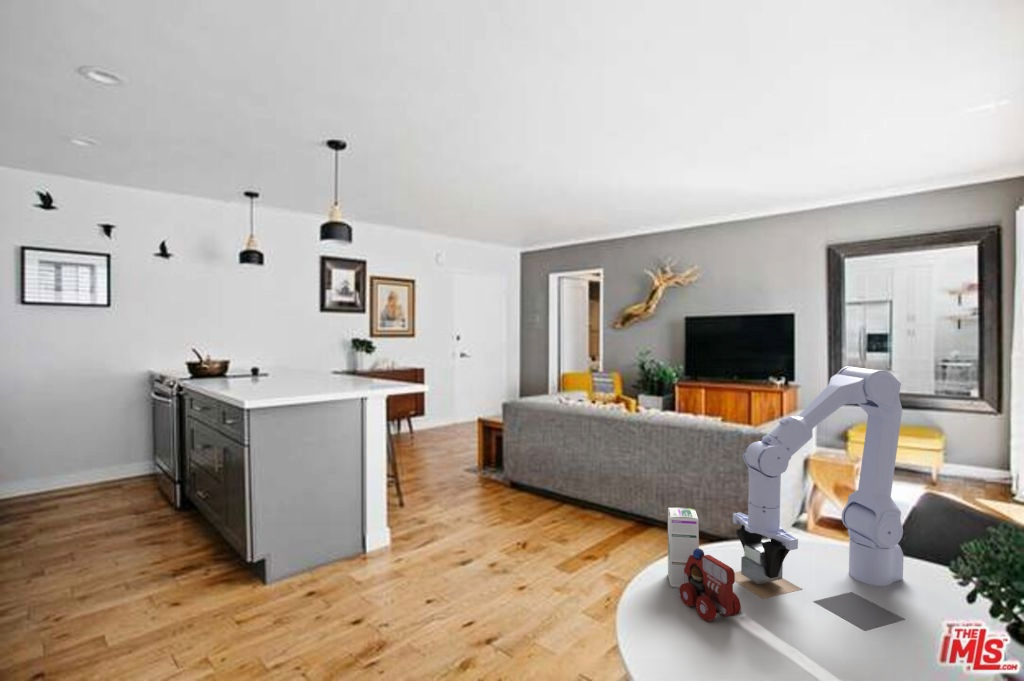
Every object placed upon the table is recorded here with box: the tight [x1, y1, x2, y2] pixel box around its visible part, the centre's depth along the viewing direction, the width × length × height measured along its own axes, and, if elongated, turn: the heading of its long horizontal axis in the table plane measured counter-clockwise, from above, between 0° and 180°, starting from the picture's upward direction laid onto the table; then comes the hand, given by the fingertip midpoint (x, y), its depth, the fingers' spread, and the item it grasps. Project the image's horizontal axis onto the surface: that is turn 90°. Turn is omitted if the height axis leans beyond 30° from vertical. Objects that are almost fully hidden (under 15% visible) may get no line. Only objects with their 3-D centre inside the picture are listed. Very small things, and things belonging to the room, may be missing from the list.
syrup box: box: [667, 507, 700, 589], centre depth 110 cm, size 6×6×14 cm
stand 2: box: [812, 591, 906, 632], centre depth 97 cm, size 10×10×2 cm
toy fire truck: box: [679, 547, 742, 622], centre depth 100 cm, size 7×12×10 cm, turn 18°
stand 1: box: [734, 571, 803, 600], centre depth 107 cm, size 10×10×2 cm
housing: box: [740, 540, 784, 584], centre depth 107 cm, size 6×4×6 cm
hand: (762, 570), depth 107 cm, fingers closed on housing, 4 cm apart
